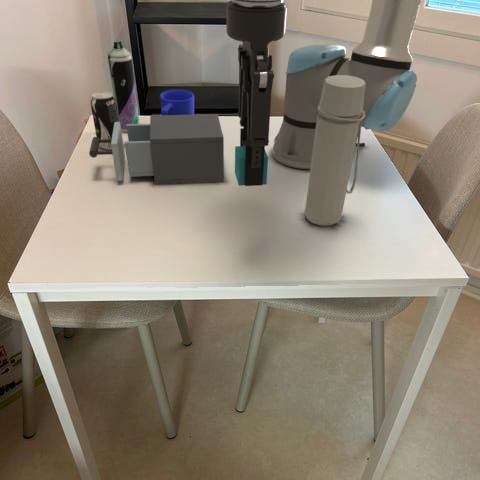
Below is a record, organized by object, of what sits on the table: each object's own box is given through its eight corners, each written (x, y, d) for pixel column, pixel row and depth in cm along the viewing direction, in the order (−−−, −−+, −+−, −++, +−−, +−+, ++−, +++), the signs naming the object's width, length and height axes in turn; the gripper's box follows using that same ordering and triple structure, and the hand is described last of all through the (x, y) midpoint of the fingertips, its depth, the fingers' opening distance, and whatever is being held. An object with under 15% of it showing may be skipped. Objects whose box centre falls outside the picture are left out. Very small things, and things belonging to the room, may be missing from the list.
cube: (261, 171, 77) (263, 144, 74) (266, 184, 74) (268, 157, 71) (234, 172, 76) (235, 146, 73) (238, 186, 73) (239, 158, 70)
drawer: (92, 181, 100) (85, 144, 95) (97, 157, 109) (90, 122, 103) (181, 178, 102) (179, 141, 97) (179, 154, 111) (177, 120, 105)
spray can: (128, 134, 121) (116, 45, 108) (114, 128, 124) (100, 41, 110) (144, 127, 124) (134, 41, 111) (129, 122, 127) (118, 37, 113)
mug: (151, 146, 116) (146, 103, 109) (171, 128, 125) (168, 87, 118) (182, 151, 114) (179, 108, 108) (200, 132, 123) (199, 91, 116)
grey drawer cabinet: (154, 184, 102) (149, 139, 95) (154, 158, 111) (150, 115, 105) (223, 181, 104) (223, 136, 97) (218, 156, 113) (217, 113, 106)
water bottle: (312, 231, 90) (333, 90, 73) (297, 210, 95) (313, 74, 78) (357, 225, 92) (387, 86, 75) (340, 204, 97) (364, 71, 80)
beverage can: (97, 142, 117) (88, 90, 109) (121, 140, 118) (113, 89, 110) (99, 152, 113) (89, 99, 105) (123, 150, 114) (116, 97, 106)
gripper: (218, -13, 65) (220, 153, 81) (236, 17, 52) (234, 206, 68) (272, -13, 66) (264, 151, 82) (303, 16, 53) (286, 203, 69)
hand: (250, 176), depth 75 cm, fingers closed on cube, 4 cm apart
